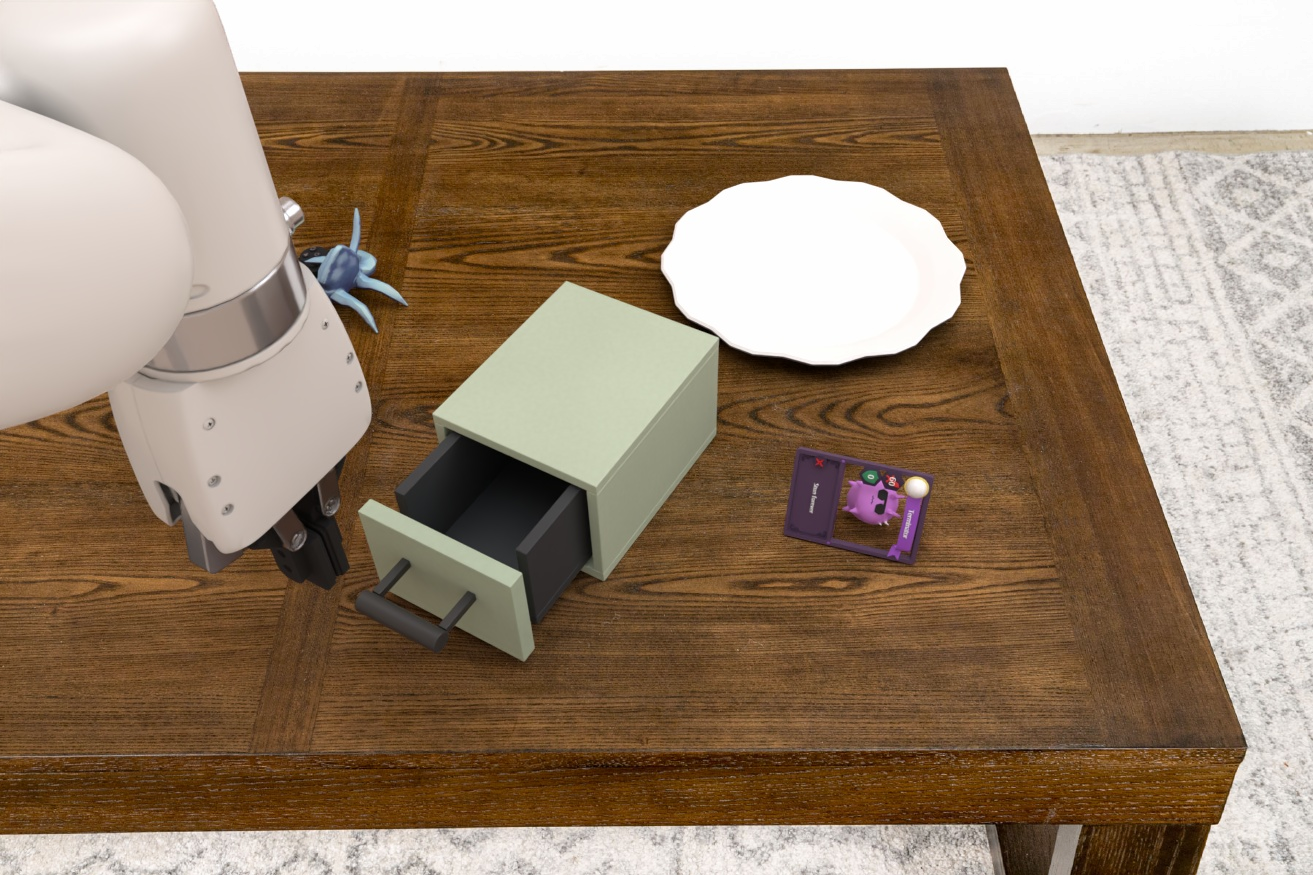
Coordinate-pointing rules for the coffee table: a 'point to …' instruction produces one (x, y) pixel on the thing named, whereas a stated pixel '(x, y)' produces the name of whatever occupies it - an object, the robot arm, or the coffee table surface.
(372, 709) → the coffee table surface
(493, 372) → the green drawer box
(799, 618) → the coffee table surface
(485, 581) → the green drawer
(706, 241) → the plate
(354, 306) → the figurine
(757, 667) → the coffee table surface
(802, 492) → the game card
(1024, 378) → the coffee table surface
